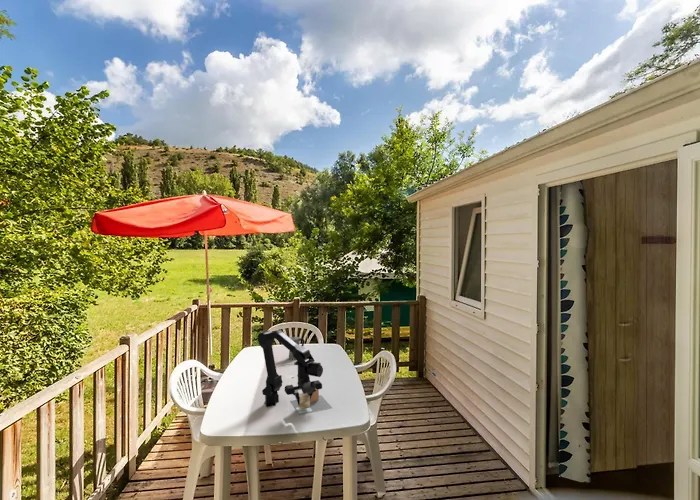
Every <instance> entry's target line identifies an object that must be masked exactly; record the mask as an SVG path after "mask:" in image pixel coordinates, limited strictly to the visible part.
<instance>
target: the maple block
mask: <svg viewBox="0 0 700 500" xmlns="http://www.w3.org/2000/svg"><path fill="white" fill-rule="evenodd" d="M298 406H299V408H300V409H305V408H310V396H309V394H308V393H306V394H304V393H303V392H301V393H299V405H298Z"/></svg>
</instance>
